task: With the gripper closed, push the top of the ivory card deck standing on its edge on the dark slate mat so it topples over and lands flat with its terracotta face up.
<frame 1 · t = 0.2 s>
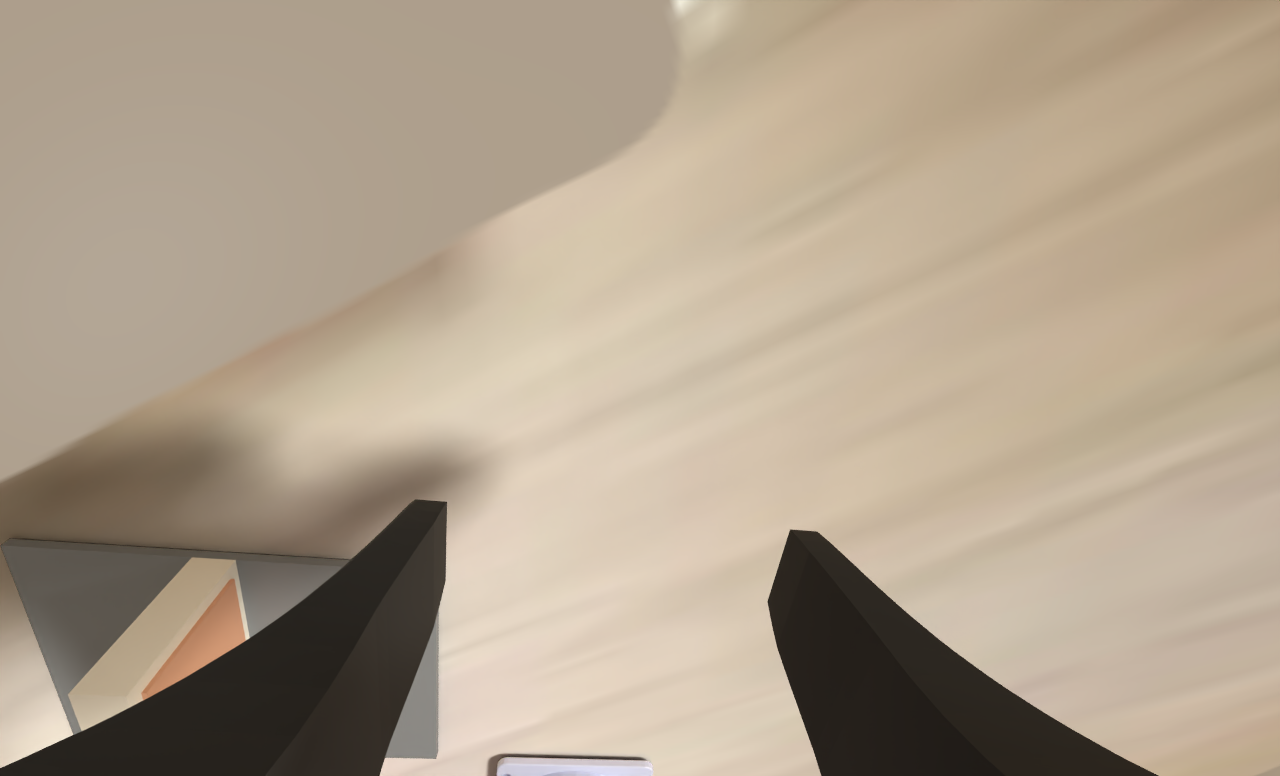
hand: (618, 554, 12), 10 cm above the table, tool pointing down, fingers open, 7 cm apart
deck: (228, 632, 25), resting on mat
mat: (252, 658, 26), on the table
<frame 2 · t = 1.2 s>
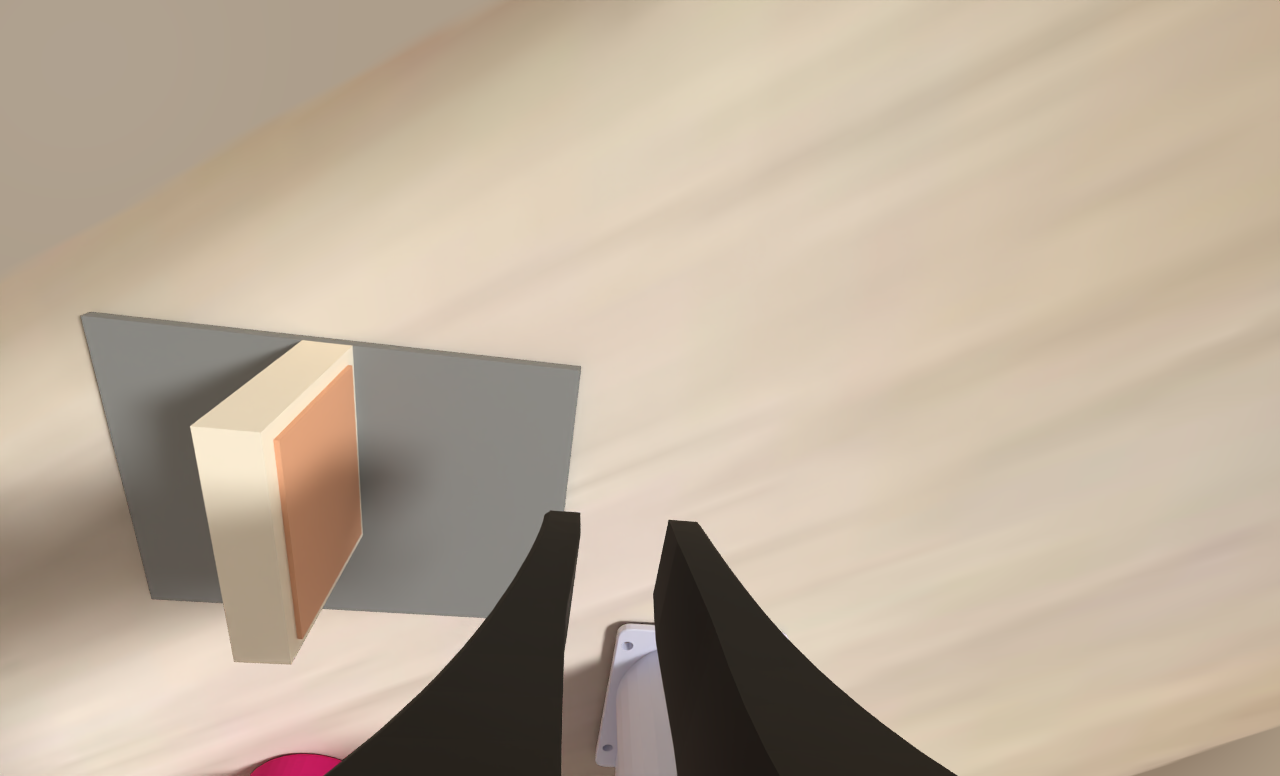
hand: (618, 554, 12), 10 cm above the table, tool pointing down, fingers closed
deck: (335, 445, 21), resting on mat
mat: (356, 486, 23), on the table
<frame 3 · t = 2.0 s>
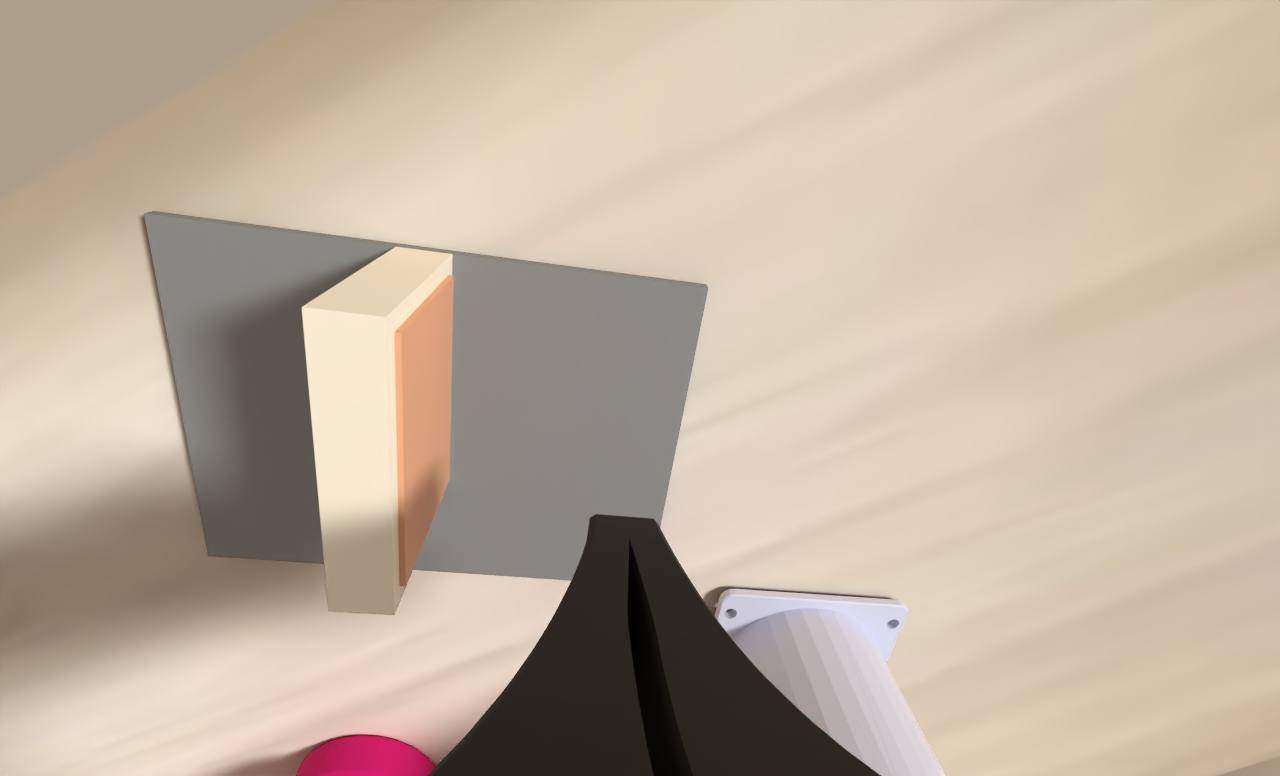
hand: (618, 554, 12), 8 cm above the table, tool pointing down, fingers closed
deck: (424, 375, 19), resting on mat
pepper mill: (372, 773, 27), on the table
mat: (442, 426, 20), on the table
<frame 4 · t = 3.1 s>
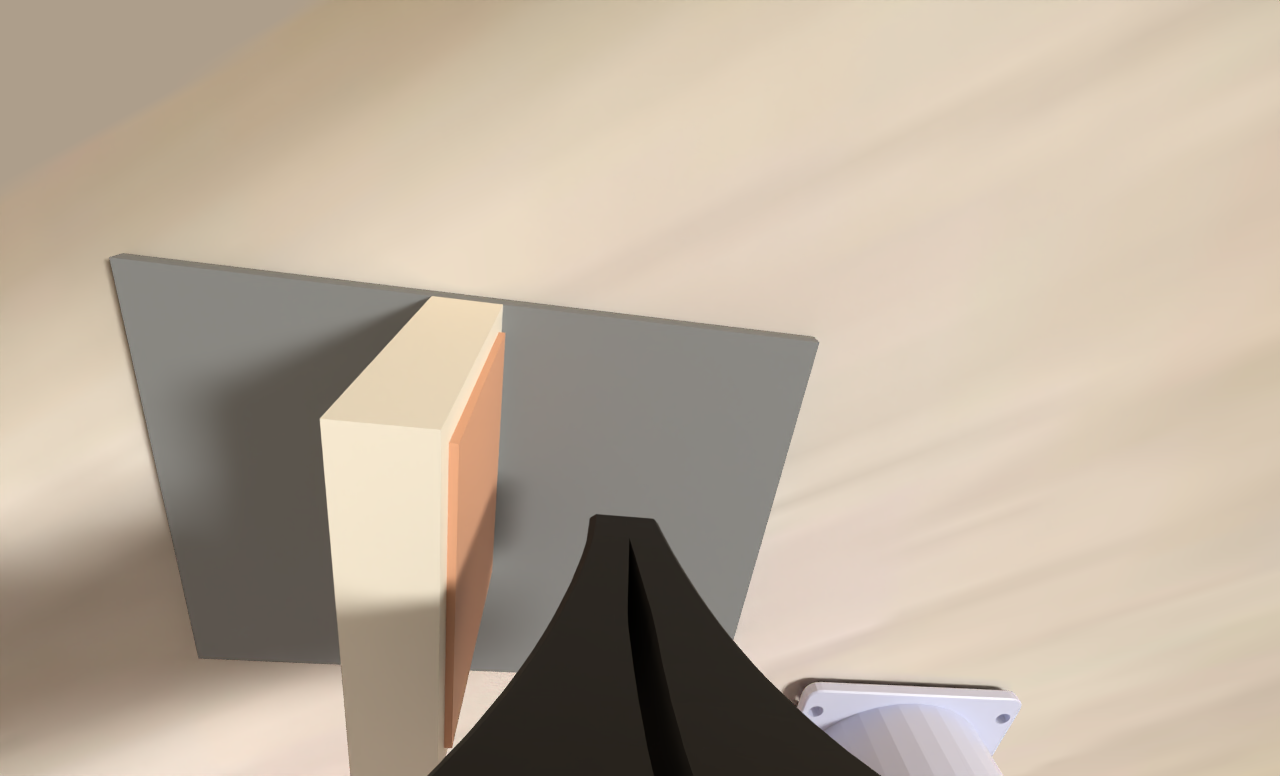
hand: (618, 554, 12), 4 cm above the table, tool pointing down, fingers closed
deck: (463, 449, 15), resting on mat
mat: (483, 505, 16), on the table
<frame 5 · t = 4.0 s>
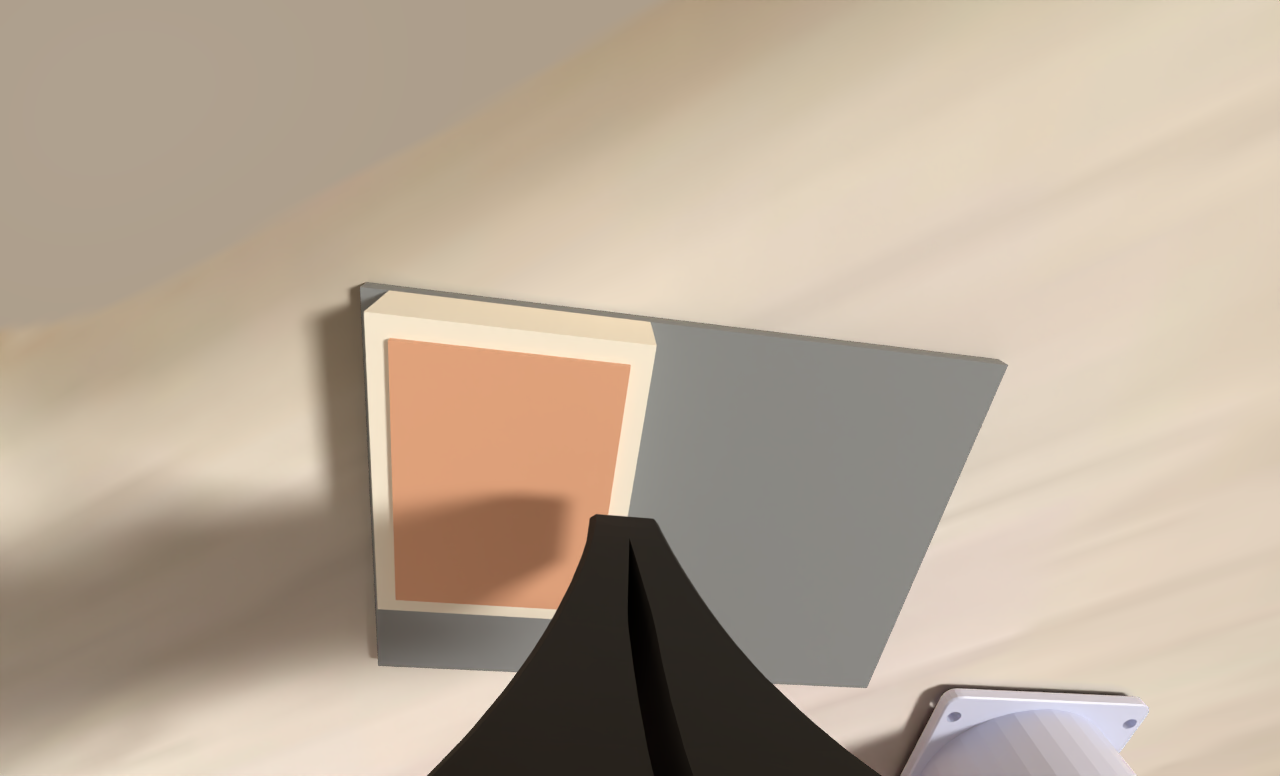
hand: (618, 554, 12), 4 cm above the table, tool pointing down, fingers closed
deck: (628, 481, 15), point 1 cm above the table, tilted 90°, touching mat
mat: (664, 519, 17), on the table
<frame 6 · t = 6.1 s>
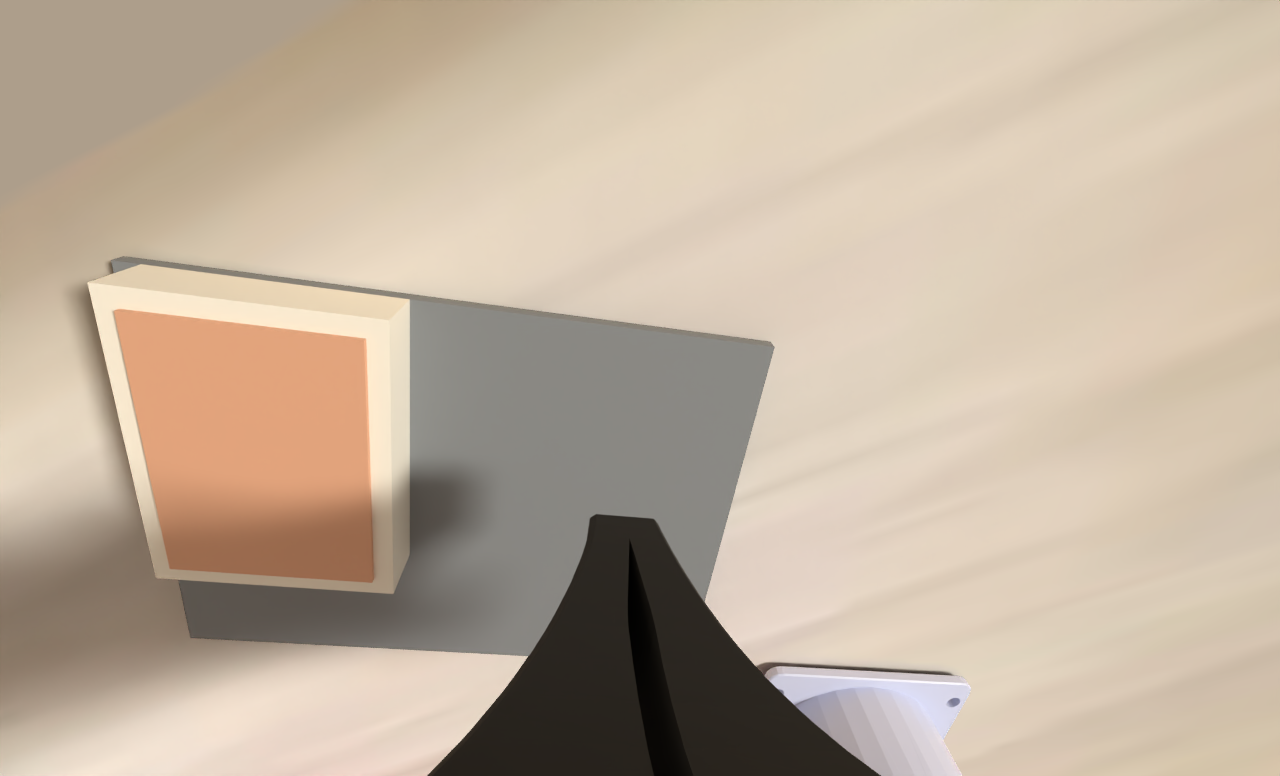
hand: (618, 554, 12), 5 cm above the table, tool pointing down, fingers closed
deck: (401, 455, 15), point 1 cm above the table, tilted 90°, touching mat
mat: (461, 496, 17), on the table
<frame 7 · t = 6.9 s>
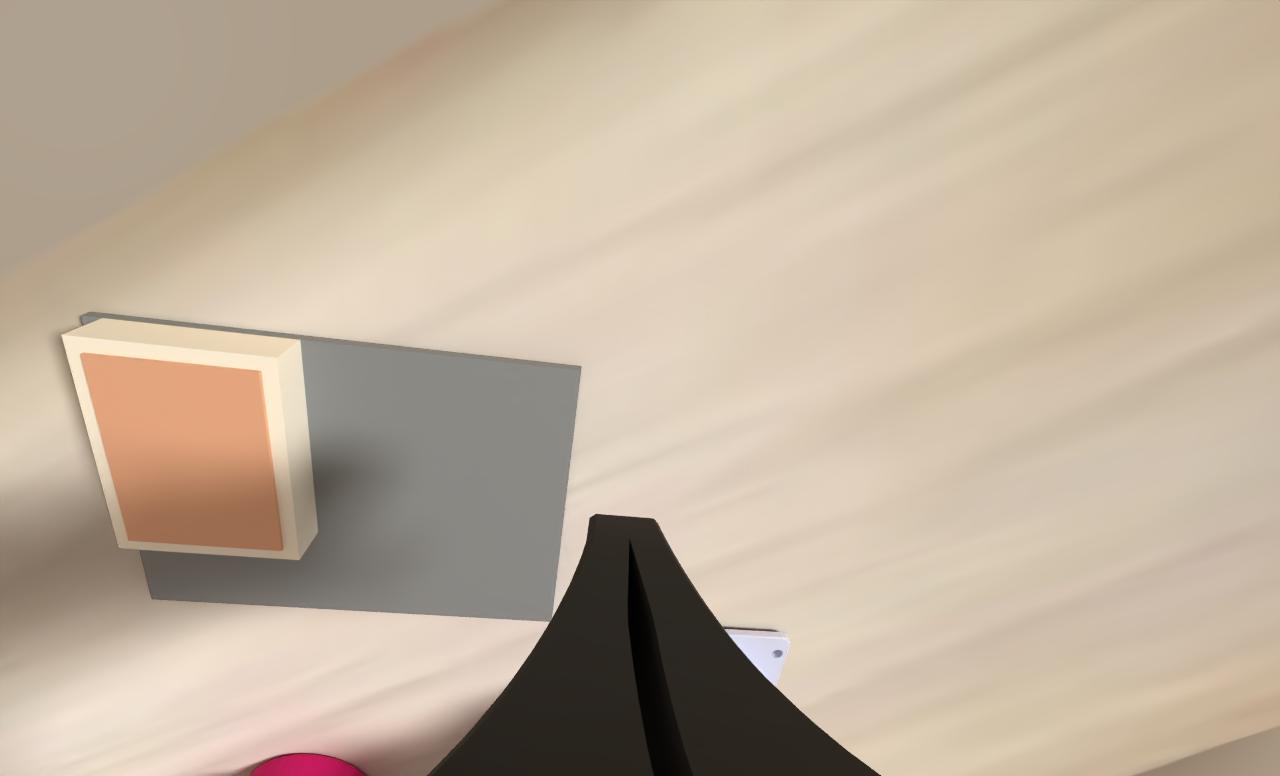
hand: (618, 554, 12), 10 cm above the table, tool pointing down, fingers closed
deck: (299, 454, 20), point 1 cm above the table, tilted 90°, touching mat
mat: (356, 486, 23), on the table
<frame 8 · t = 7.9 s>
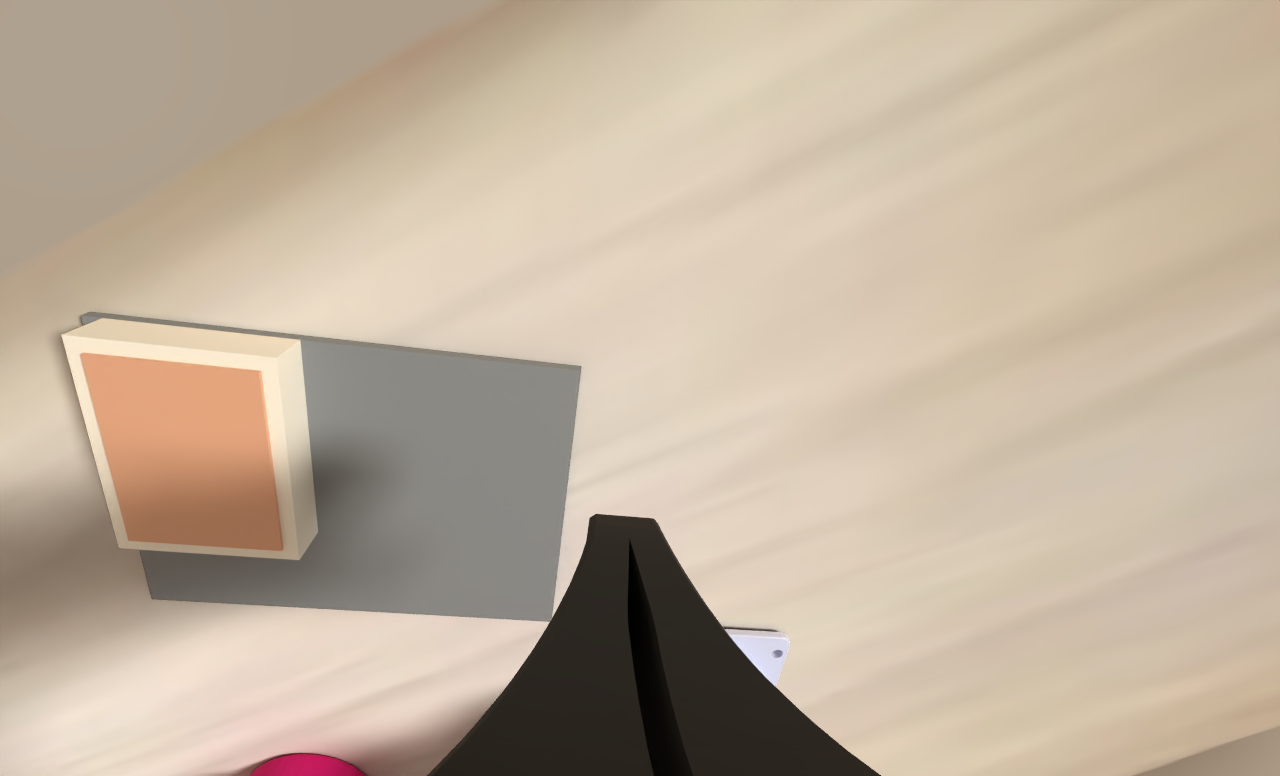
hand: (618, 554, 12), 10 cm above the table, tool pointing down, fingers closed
deck: (299, 454, 20), point 1 cm above the table, tilted 90°, touching mat
mat: (356, 486, 23), on the table
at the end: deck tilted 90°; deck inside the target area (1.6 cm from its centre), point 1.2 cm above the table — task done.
